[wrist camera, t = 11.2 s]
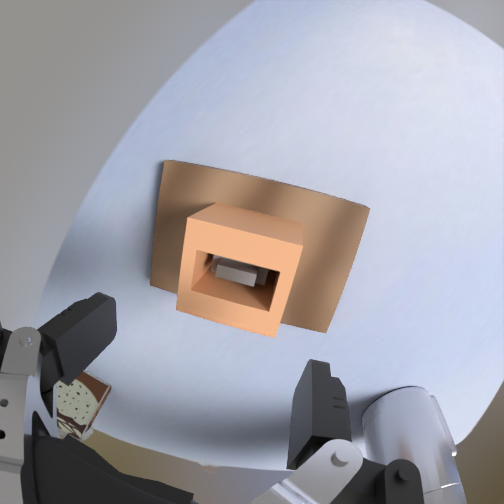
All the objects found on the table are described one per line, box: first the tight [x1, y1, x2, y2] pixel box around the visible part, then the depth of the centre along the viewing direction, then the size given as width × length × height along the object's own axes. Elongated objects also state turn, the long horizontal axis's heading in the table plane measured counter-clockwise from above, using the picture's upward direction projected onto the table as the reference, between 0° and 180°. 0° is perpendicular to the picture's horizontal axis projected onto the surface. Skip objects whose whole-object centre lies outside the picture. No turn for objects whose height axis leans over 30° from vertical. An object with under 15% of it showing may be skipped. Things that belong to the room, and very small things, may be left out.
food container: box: [56, 370, 111, 442], centre depth 29 cm, size 12×6×10 cm, turn 74°
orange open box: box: [176, 203, 303, 338], centre depth 18 cm, size 6×6×6 cm
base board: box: [150, 160, 370, 333], centre depth 20 cm, size 16×11×6 cm
